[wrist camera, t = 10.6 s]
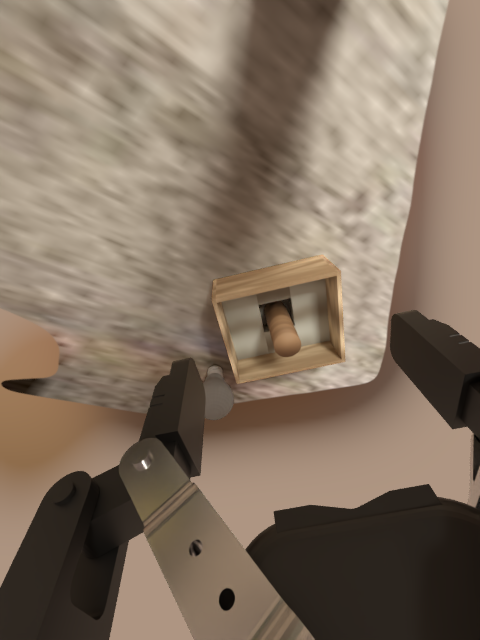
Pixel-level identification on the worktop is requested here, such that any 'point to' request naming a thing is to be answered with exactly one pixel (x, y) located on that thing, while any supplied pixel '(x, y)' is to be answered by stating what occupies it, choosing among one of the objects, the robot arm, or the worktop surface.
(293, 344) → the peg
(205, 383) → the light bulb
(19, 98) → the worktop surface
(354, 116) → the worktop surface
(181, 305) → the worktop surface
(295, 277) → the crate
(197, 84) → the worktop surface
